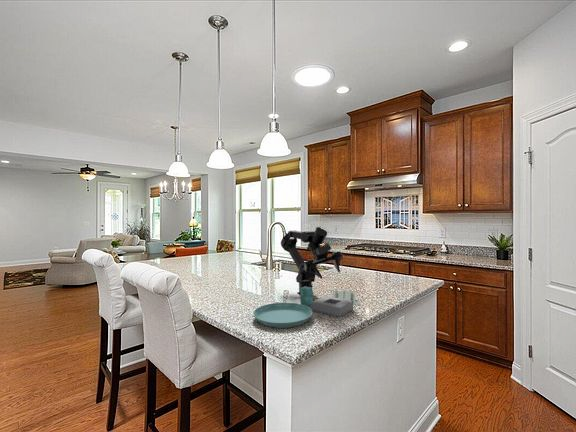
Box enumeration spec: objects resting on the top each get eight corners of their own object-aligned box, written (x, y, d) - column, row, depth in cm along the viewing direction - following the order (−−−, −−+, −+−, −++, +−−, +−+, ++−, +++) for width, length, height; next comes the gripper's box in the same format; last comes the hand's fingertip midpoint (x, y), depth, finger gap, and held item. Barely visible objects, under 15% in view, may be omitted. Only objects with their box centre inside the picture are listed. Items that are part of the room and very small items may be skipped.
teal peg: (300, 305, 141) (300, 288, 141) (305, 302, 144) (305, 286, 144) (307, 306, 138) (307, 289, 138) (312, 304, 141) (312, 287, 141)
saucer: (241, 321, 121) (240, 313, 121) (280, 306, 140) (280, 299, 140) (286, 336, 106) (286, 326, 106) (324, 317, 124) (324, 309, 124)
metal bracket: (328, 286, 153) (358, 287, 150) (329, 296, 155) (358, 297, 152) (327, 302, 140) (360, 303, 137) (327, 312, 142) (360, 314, 139)
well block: (311, 310, 132) (311, 301, 132) (326, 304, 141) (325, 295, 141) (339, 317, 123) (339, 307, 123) (353, 309, 132) (353, 300, 132)
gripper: (300, 245, 142) (313, 271, 132) (335, 234, 146) (351, 259, 136) (299, 259, 150) (312, 284, 139) (333, 249, 154) (347, 273, 144)
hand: (330, 275), depth 140 cm, fingers open, 9 cm apart
